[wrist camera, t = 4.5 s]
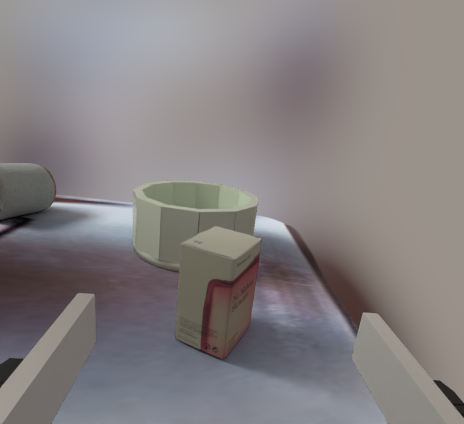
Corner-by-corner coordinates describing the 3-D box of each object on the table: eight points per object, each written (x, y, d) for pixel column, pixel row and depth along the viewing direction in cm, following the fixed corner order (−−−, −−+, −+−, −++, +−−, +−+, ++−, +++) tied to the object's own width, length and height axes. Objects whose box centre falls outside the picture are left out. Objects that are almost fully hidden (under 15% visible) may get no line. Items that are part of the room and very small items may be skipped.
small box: (223, 363, 21) (235, 259, 19) (173, 339, 23) (179, 241, 21) (251, 324, 26) (264, 236, 23) (207, 307, 27) (215, 223, 25)
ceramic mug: (62, 212, 47) (58, 162, 45) (6, 226, 40) (-1, 167, 37) (15, 201, 51) (10, 154, 48) (-44, 211, 43) (-53, 157, 41)
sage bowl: (195, 288, 30) (200, 221, 28) (109, 241, 38) (108, 187, 37) (271, 249, 42) (279, 199, 40) (193, 219, 50) (196, 177, 48)
